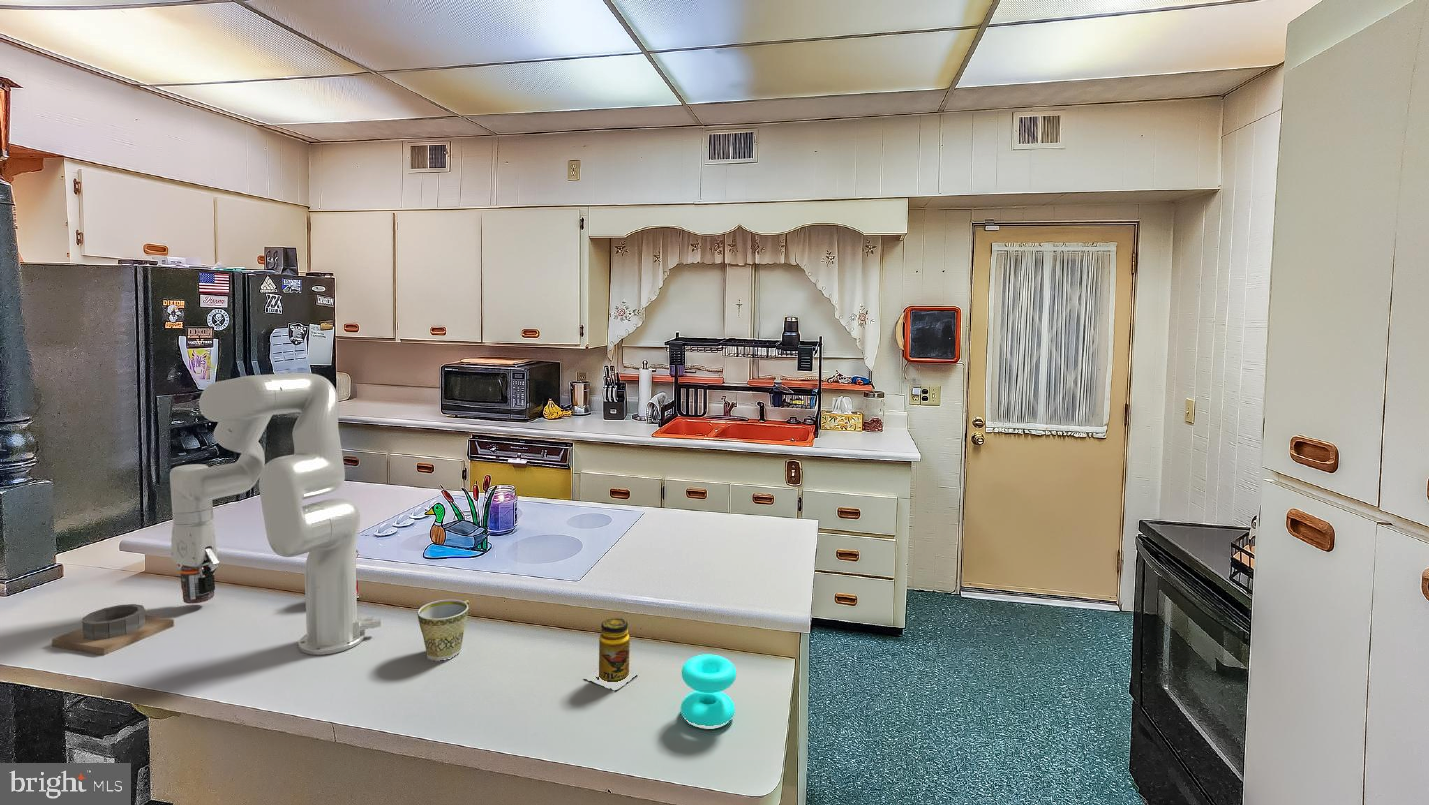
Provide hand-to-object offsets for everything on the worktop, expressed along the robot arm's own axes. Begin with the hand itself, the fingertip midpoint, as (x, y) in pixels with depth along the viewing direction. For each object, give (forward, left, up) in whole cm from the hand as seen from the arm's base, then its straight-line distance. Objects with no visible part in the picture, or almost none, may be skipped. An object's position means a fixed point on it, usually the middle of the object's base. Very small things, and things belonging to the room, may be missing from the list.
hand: (198, 589), depth 156 cm
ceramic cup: (-48, +50, -5) cm, 69 cm away
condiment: (-74, +77, -5) cm, 107 cm away
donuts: (-84, +98, -5) cm, 129 cm away
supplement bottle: (0, 0, -3) cm, 3 cm away
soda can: (-31, +10, -5) cm, 33 cm away
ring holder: (+13, +9, -5) cm, 17 cm away
